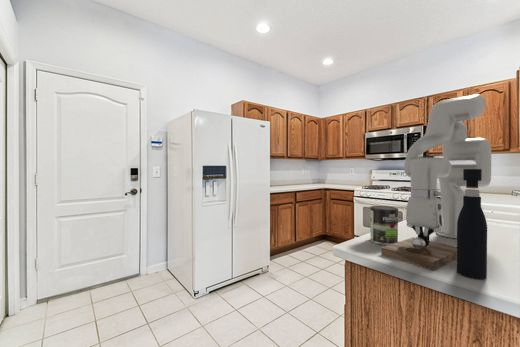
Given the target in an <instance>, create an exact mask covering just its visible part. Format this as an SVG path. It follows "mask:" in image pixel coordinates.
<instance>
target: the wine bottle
mask: <svg viewBox="0 0 520 347" xmlns="http://www.w3.org/2000/svg"><path fill="white" fill-rule="evenodd" d="M463 180H465V181H466V186H465V188H467V189H464V190H463V191H464V192H465V193H464V194H465V196H463V207H462V209H461V211H460V213H459V217H458V221H457V239H456V247H457V259H456V273H457V274H458V275H461V276H462V277H466V278H469V279H473V280H481V281H482V280H486V279H487V277H488V275H487V274H488V272H487V271H488V270H487V269H488V268H487V266H488V224H487V218H486V216H485V213H484V211H483V209H482V197H481V196H480V195H481V194H480V193H481V191H480V189H479V187H478V181H482V169H463Z"/></svg>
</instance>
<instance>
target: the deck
mask: <svg viewBox="0 0 520 347" xmlns="http://www.w3.org/2000/svg"><path fill="white" fill-rule="evenodd" d="M414 238H415V237H410V238H407V239H403V240H401V241H398V242H397V243H394V244H390V245H383V246H382V247H381V251H380V252H381V254H380V255H383V256H386V257H389V258H392V259H395V260H398V261H401V262H404V263H406V264H407V263H408V264H412V265H415V266H417V267H421V268H424V269H427V270H430V271H435V270H437V269H439V268H441V267H443V266H446V265H447V264H449V263H451V262H453V261H456V260H457V246H453V245H449V244H444V243H440V242H436V241H432V240H431V241H430V240H429V245H428V246H426V247H424V248H423V249H416V248H414V247H413V245H412V240H413V239H414Z"/></svg>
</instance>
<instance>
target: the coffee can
mask: <svg viewBox="0 0 520 347" xmlns="http://www.w3.org/2000/svg"><path fill="white" fill-rule="evenodd" d="M369 208H370V236H369V237H370V242H372V243H374V244H377V245H382V246H387V245H390V244H394V243H397V242H399V240H398V239H399V238H398V236H399V207H395V206H386V205H373V206H370V207H369Z"/></svg>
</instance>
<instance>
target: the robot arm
mask: <svg viewBox="0 0 520 347" xmlns="http://www.w3.org/2000/svg"><path fill="white" fill-rule="evenodd" d="M485 109H486V98H485V97H484V96H483V94H479V93H477V94H470V95H464V96H460V97H453V98H449V99H444V100H440V101H438V102H435V103H434V104H433V105H432V108H431V109H430V112H429V117H428V122H427V126H426V128H425V133H424V135H422V136H421V137H419V138H418V139H417V140H416V141H415V142H414V143H413V144H412V145H411V146H410V147H409V149H408V151H407V153H406V157H405V162H404V167H403V170H404V171H403V172H404V174H405V175H406V176H407V177H409V178H410V196H409V197H408V199H407V203H406V211H405V213H406V214H405V219H406V220H405V221H406V227H408V228H411V229H413V230H414V231H415V234H416V235H417V237H419V238H422V239H423V240H424V241H425V243H426V245H425V247H426V246H428V245H429V241H430V236H431V234H434V233H435V234H437V236H438V235H439V236H441V237H446V238H451V239H456V240H457V221H458V217H459V213H460V211H461V209H462V207H463V196H465V194H464V193H465V192H464V191H465V190H463V188H462V187H466V181H465V180H463V169H482V181H478V188H484V187H489V185H490V183H491V180H492V147H491V143H490V141H489V140H488V139H487V138H484V137H483V138H482V137H475V138H474V137H473V138H468V127H467V125H466V124H465V123H464V121H473V120H475V119H478V117H480V116H481V115H483V113H484V111H485ZM439 146H442V149H441V151H442V157H421V155H422V154H424V153H425V152H427V151H429V150H431V149H435V148H436V147H439ZM451 162H475V163H473V164H472V163H471V164H469V163H467V164H463V163H461V164H459V163H458V164H457V163H456V164H451ZM437 179H438V180H437ZM438 181H439V190H440V191H438V186H437V185H438ZM438 197H440V198H438Z"/></svg>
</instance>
